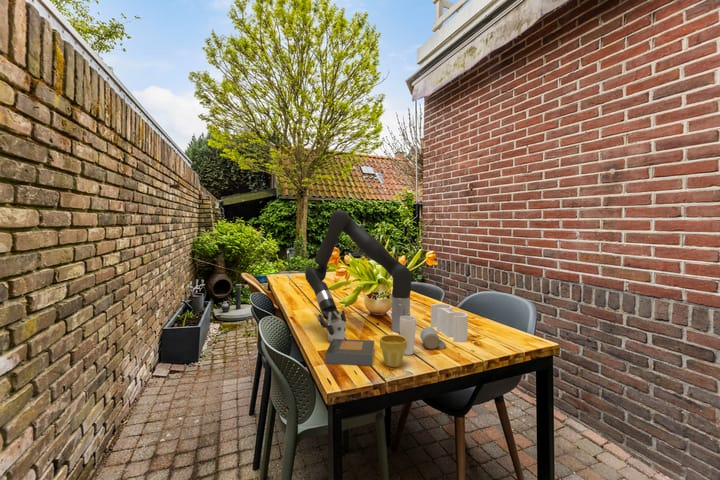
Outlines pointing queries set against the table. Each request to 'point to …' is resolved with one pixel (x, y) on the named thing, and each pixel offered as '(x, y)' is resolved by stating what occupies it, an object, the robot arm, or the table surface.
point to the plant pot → (393, 349)
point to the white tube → (408, 332)
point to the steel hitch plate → (350, 352)
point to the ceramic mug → (431, 338)
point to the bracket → (450, 322)
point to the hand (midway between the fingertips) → (338, 333)
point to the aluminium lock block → (336, 329)
